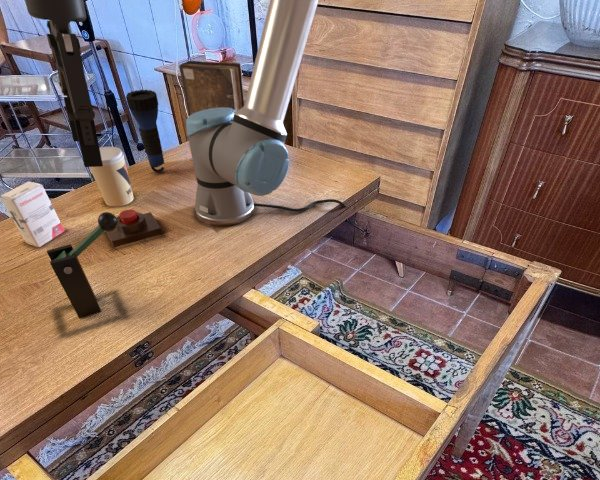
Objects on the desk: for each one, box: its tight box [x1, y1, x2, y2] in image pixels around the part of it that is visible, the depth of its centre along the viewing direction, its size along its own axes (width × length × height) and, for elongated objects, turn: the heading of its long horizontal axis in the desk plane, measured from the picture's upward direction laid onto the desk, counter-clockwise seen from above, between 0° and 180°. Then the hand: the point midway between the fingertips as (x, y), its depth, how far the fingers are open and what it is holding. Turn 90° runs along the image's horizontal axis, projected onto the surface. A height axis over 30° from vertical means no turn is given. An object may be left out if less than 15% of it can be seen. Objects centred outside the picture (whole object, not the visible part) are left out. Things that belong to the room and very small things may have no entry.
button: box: [118, 209, 138, 224], centre depth 106 cm, size 4×4×2 cm
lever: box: [54, 211, 118, 260], centre depth 81 cm, size 14×3×3 cm, turn 118°
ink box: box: [0, 181, 65, 248], centre depth 105 cm, size 9×5×12 cm, turn 152°
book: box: [178, 60, 245, 117], centre depth 126 cm, size 17×7×25 cm, turn 65°
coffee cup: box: [89, 146, 134, 207], centre depth 117 cm, size 9×9×12 cm
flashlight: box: [125, 89, 165, 174], centre depth 124 cm, size 8×8×20 cm
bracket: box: [46, 243, 102, 319], centre depth 85 cm, size 12×9×14 cm
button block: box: [106, 211, 163, 248], centre depth 108 cm, size 12×9×4 cm
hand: (87, 152), depth 75 cm, fingers open, 13 cm apart
